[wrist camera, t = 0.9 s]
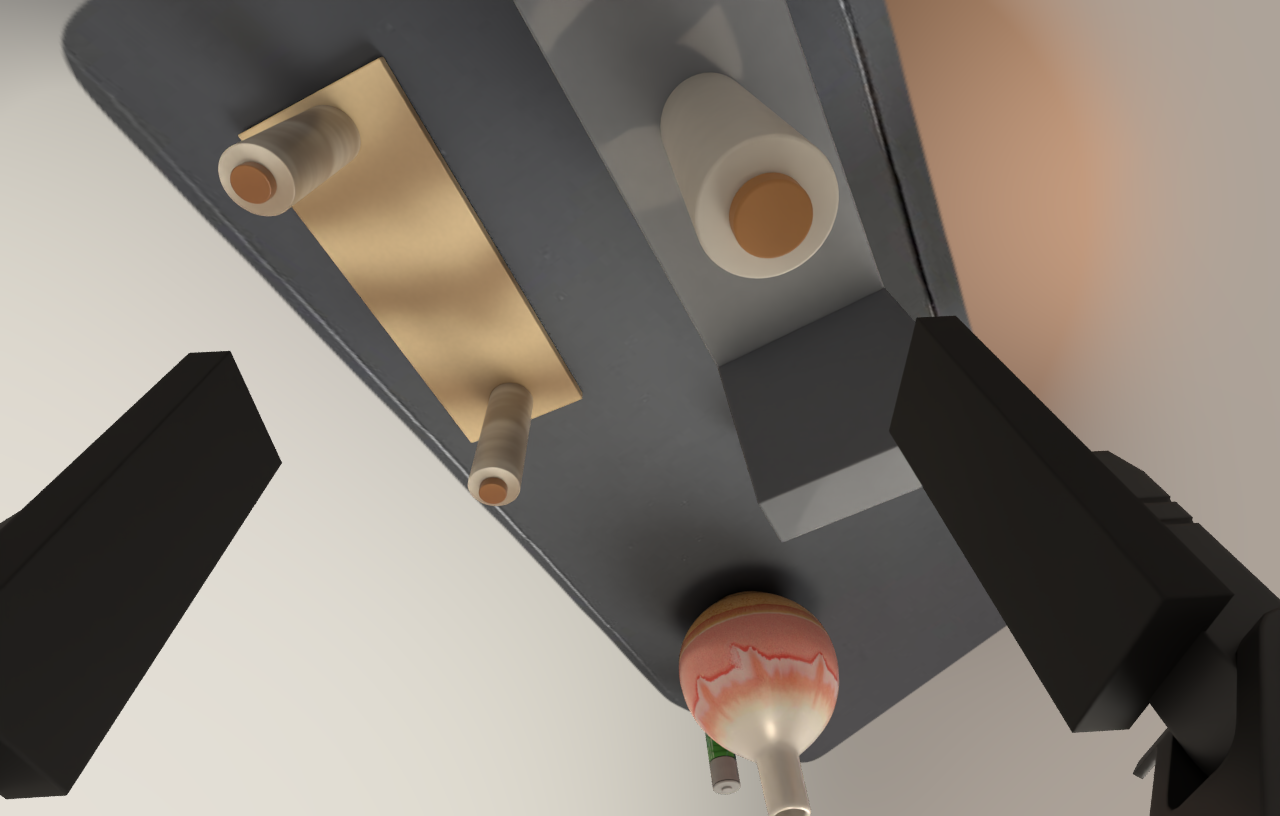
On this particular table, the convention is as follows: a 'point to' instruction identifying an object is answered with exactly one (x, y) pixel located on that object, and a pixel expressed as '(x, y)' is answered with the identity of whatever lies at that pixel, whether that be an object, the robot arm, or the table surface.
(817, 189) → the white cell
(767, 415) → the grey stand
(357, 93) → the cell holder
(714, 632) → the vase
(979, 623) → the table surface
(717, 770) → the battery
